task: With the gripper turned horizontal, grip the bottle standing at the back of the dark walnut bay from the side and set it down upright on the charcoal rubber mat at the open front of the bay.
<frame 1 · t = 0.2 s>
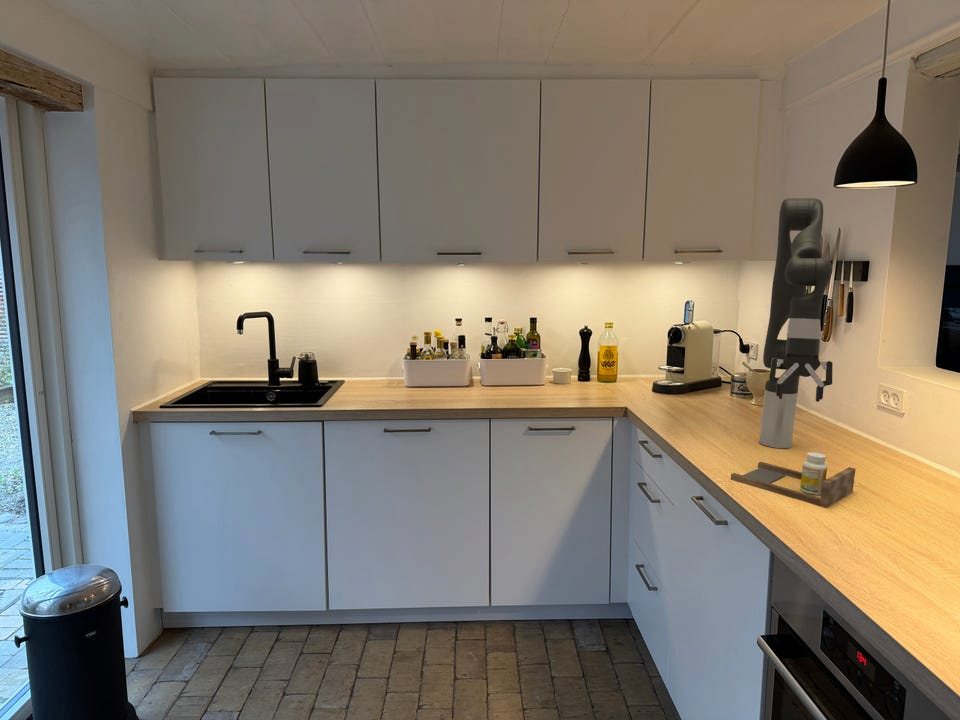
hand: (798, 400, 159), 22 cm above the countertop, tool pointing down, fingers open, 8 cm apart
front mat: (762, 477, 165), on the countertop
bay: (787, 484, 160), on the countertop
supplement bottle: (811, 492, 156), resting in bay
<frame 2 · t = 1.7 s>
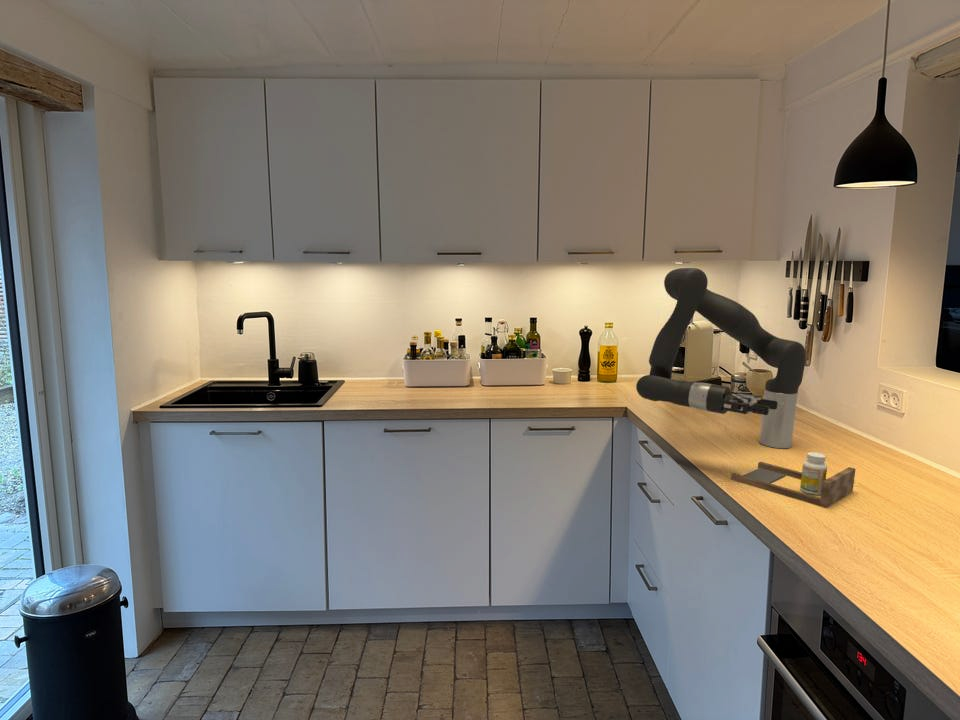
hand: (773, 408, 159), 19 cm above the countertop, tool horizontal, fingers open, 8 cm apart
nothing on the countertop moved.
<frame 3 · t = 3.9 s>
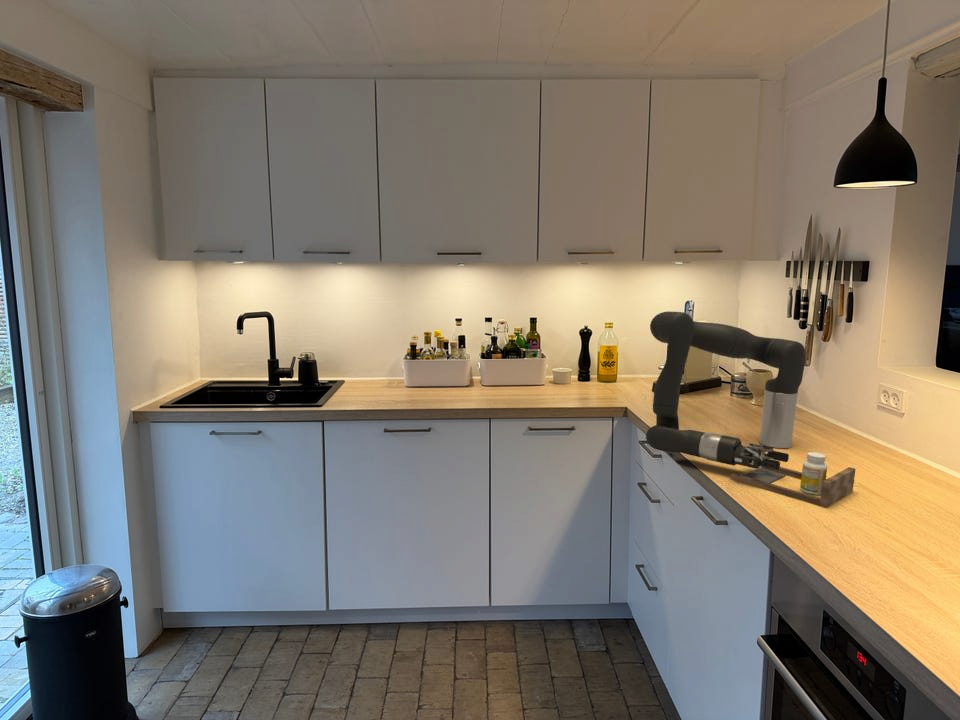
hand: (784, 461, 159), 6 cm above the countertop, tool horizontal, fingers open, 8 cm apart
nothing on the countertop moved.
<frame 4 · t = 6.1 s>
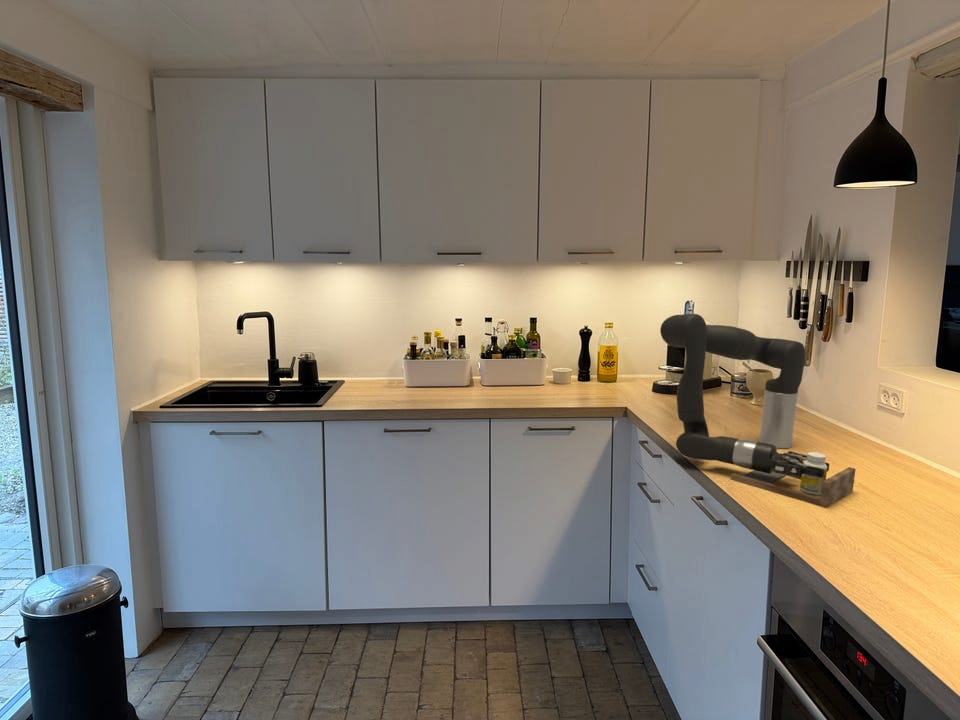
hand: (826, 470, 153), 6 cm above the countertop, tool horizontal, fingers closed on supplement bottle, 5 cm apart
supplement bottle: (811, 492, 156), resting in bay, touching gripper
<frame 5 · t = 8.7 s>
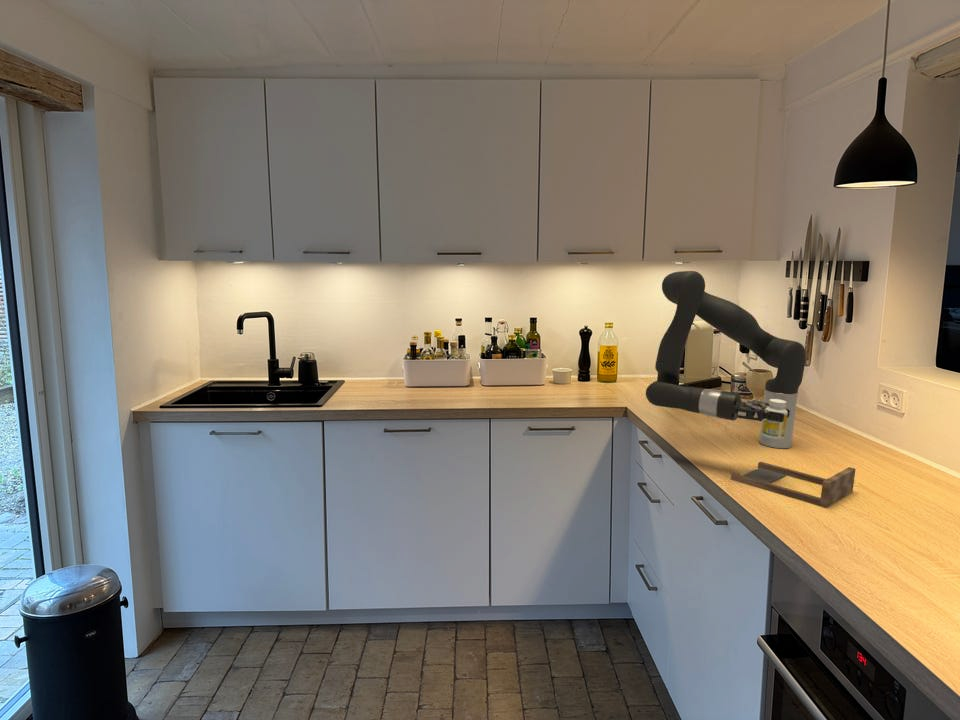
hand: (786, 415, 159), 18 cm above the countertop, tool horizontal, fingers closed on supplement bottle, 5 cm apart
supplement bottle: (773, 437, 162), point 11 cm above the countertop, touching gripper
when the fingers open (8 cm above the countertop, at t = 11.2 s): supplement bottle drops 1 cm, resting on front mat.
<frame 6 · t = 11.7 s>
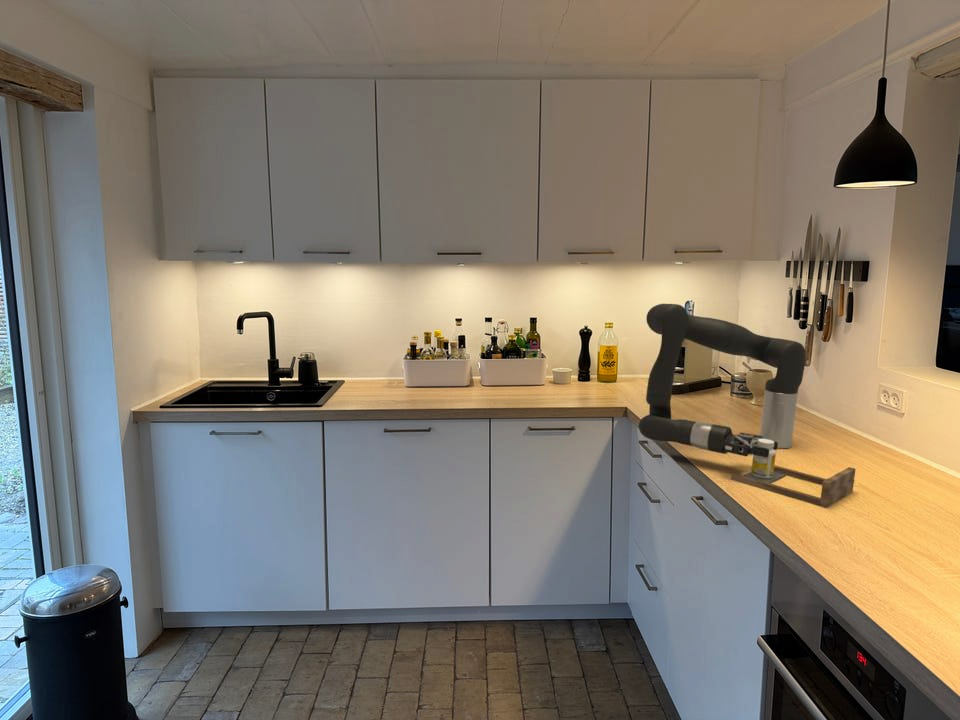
hand: (773, 449, 162), 8 cm above the countertop, tool horizontal, fingers open, 8 cm apart
supplement bottle: (761, 476, 165), resting on front mat
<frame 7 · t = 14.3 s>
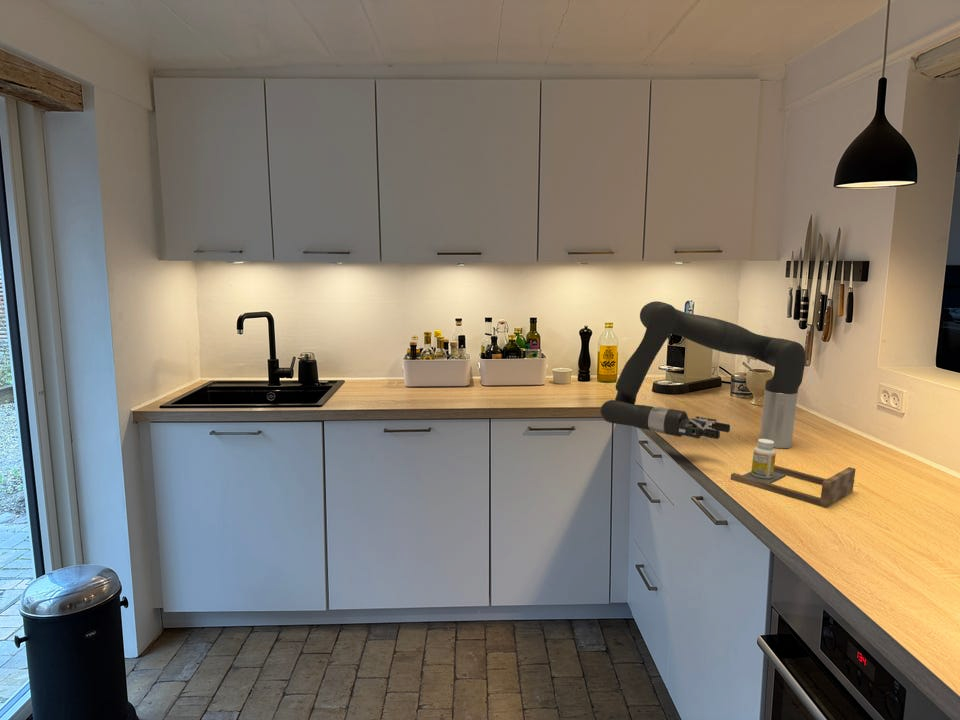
hand: (724, 431, 170), 10 cm above the countertop, tool horizontal, fingers open, 8 cm apart
nothing on the countertop moved.
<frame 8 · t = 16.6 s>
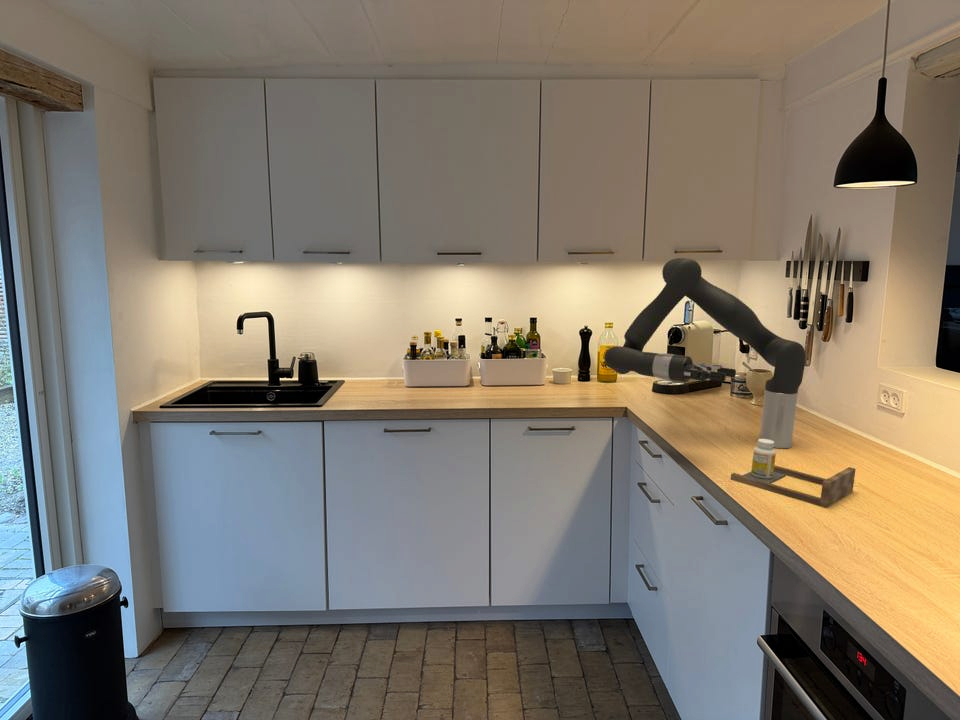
hand: (730, 375, 167), 26 cm above the countertop, tool horizontal, fingers open, 8 cm apart
nothing on the countertop moved.
at the end: supplement bottle inside the target area (0.4 cm from its centre), resting on front mat; supplement bottle tilted 0°; the gripper is holding nothing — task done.
